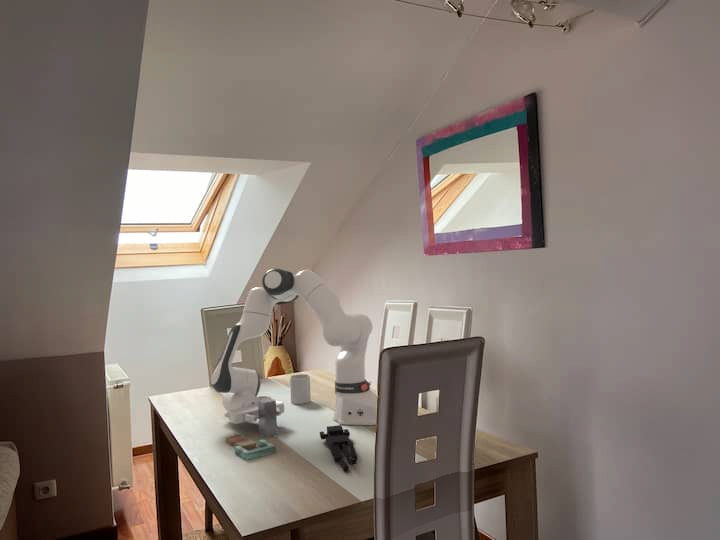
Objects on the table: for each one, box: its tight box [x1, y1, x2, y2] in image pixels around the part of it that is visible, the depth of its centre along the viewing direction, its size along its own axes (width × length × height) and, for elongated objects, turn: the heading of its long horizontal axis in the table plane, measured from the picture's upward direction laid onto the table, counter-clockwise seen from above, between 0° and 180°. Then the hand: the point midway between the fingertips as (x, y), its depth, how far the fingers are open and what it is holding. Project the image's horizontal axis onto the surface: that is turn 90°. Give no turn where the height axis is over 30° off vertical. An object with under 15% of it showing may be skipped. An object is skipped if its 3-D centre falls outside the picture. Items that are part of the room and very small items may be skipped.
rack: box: [225, 433, 277, 461], centre depth 177 cm, size 20×10×2 cm, turn 38°
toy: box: [319, 424, 358, 472], centre depth 168 cm, size 10×5×30 cm
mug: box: [289, 373, 312, 405], centre depth 235 cm, size 12×8×11 cm
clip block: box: [258, 398, 278, 439], centre depth 190 cm, size 4×4×12 cm
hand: (267, 416), depth 190 cm, fingers open, 8 cm apart
